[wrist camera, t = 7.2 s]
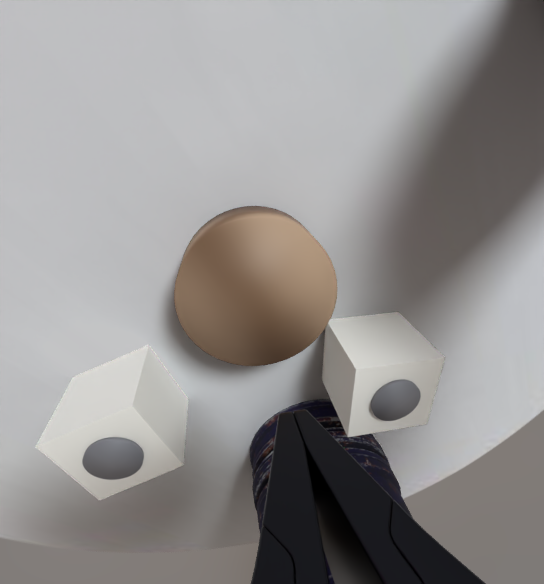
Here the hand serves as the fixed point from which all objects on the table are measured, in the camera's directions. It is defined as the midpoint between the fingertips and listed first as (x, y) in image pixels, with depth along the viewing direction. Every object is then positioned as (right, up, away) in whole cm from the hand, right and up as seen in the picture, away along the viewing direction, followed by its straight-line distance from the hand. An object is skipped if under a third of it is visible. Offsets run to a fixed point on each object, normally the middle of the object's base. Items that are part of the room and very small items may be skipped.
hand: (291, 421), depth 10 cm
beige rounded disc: (-2, +5, +9) cm, 10 cm away
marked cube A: (+5, 0, +13) cm, 14 cm away
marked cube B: (-9, -2, +11) cm, 15 cm away
